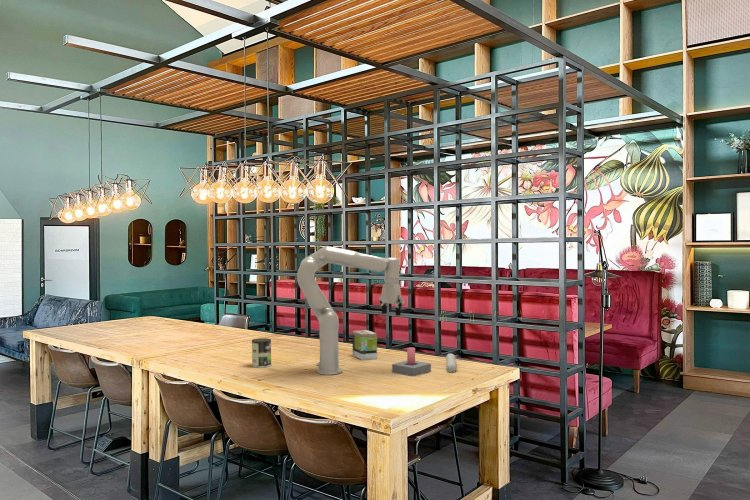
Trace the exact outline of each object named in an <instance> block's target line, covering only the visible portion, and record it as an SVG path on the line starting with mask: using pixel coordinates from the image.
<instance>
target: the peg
mask: <svg viewBox="0 0 750 500" xmlns="http://www.w3.org/2000/svg"><path fill="white" fill-rule="evenodd" d="M406 351H407V352H406V353H407V354H406V355H407V356H406V357H407V360H406V361H407V365H415V361H416V348H415V347H407V348H406Z"/></svg>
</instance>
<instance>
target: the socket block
mask: <svg viewBox="0 0 750 500" xmlns="http://www.w3.org/2000/svg"><path fill="white" fill-rule="evenodd" d="M391 372H392V373H395V374H399V375H405V376H409V377H410V376H411V377H415V376H419V375H424V374H426V373H430V372H432V363H430V362H423V361H419V360H415V365H407V360H404V361H400V362H395V363H392V364H391Z"/></svg>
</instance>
